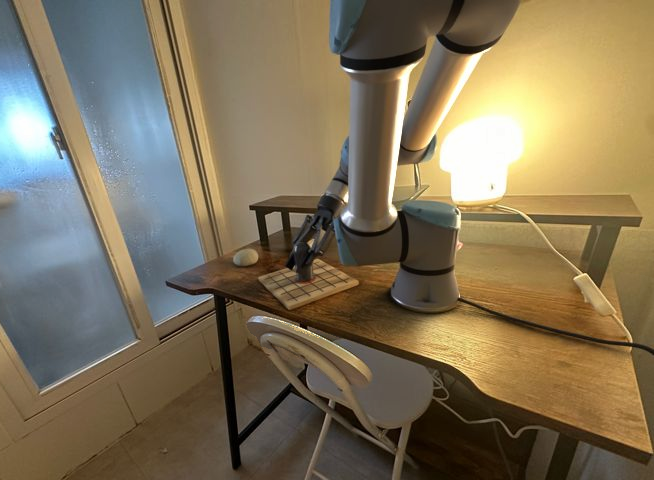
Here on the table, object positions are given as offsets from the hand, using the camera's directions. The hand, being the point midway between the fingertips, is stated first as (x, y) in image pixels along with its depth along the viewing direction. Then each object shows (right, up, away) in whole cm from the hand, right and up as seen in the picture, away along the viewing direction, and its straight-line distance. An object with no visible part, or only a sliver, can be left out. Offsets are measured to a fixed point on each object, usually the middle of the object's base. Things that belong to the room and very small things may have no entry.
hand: (293, 271), depth 87 cm
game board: (+4, -3, +4) cm, 6 cm away
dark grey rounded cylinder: (+4, -2, +3) cm, 5 cm away
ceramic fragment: (+8, +9, +27) cm, 30 cm away
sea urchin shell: (-16, +4, +24) cm, 29 cm away
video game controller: (+47, +4, +5) cm, 47 cm away
